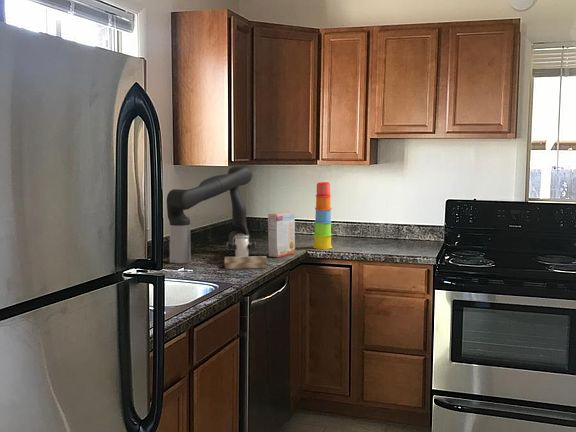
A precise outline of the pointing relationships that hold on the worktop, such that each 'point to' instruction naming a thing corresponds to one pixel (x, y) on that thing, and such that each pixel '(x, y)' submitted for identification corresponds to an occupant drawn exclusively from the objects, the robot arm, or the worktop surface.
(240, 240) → the cylinder
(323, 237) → the stacking cups
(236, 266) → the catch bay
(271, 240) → the cracker box
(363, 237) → the worktop surface
